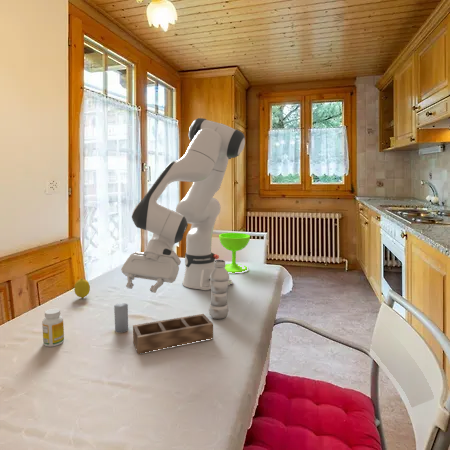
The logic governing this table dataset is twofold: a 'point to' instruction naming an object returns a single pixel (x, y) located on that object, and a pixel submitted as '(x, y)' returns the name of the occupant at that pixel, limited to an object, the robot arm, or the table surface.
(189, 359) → the table surface
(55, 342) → the supplement bottle
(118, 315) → the slate peg
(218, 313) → the plastic bottle
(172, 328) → the walnut rack
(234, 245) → the wineglass
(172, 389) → the table surface
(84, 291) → the lemon
